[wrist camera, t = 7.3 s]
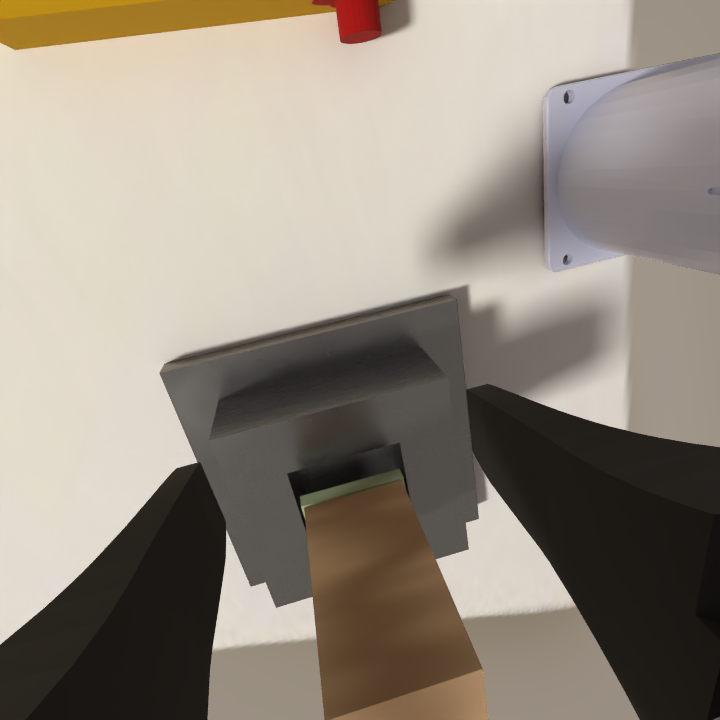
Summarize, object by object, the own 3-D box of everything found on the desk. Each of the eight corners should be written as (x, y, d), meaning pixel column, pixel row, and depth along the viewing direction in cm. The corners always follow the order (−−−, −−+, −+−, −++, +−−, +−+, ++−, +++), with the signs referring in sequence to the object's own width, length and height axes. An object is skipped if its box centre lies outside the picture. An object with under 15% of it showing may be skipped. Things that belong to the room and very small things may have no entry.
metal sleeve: (448, 294, 22) (497, 326, 17) (471, 507, 27) (512, 574, 23) (164, 364, 20) (132, 419, 16) (251, 572, 26) (246, 657, 21)
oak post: (399, 468, 18) (486, 665, 11) (413, 541, 20) (496, 754, 12) (300, 496, 18) (319, 720, 10) (323, 568, 19) (353, 804, 12)
